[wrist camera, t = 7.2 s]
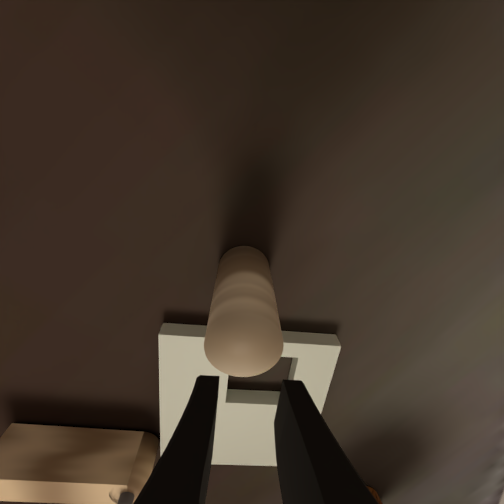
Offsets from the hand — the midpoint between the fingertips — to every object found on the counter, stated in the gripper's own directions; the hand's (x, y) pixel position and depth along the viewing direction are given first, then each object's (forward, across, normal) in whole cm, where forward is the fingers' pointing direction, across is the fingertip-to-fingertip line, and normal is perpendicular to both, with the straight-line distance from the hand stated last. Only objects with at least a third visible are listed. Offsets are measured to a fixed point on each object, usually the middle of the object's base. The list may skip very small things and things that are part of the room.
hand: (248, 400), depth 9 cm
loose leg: (+9, 0, 0) cm, 9 cm away
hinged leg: (+9, +11, +16) cm, 22 cm away
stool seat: (+9, -1, +11) cm, 15 cm away
